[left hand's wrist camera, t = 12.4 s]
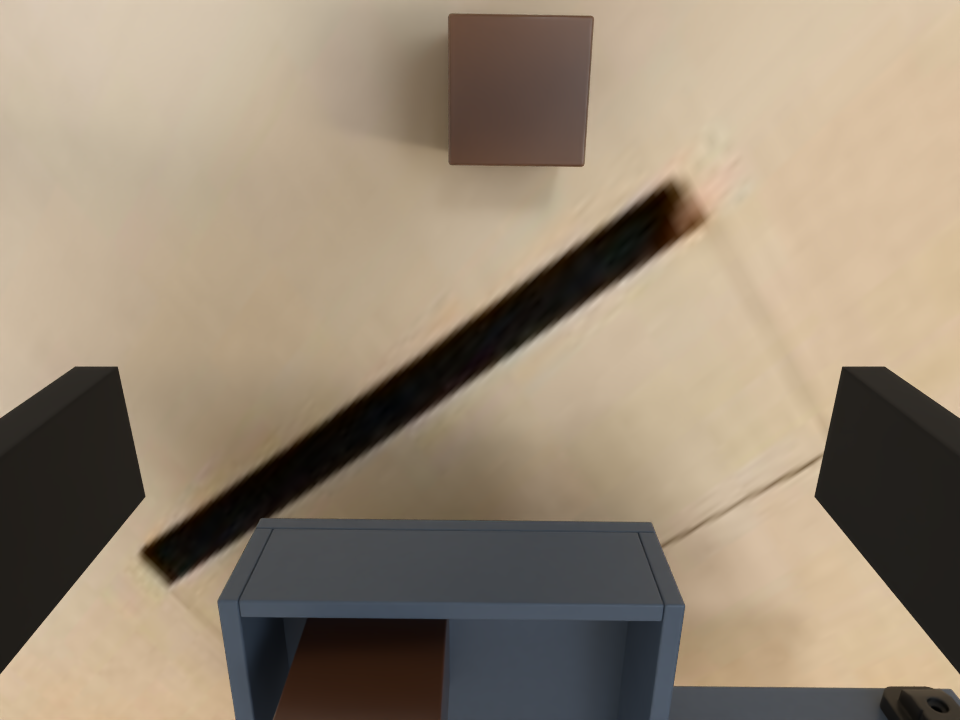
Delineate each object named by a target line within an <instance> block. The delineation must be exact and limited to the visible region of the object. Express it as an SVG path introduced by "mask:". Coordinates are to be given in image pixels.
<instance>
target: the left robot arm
mask: <svg viewBox="0 0 960 720" xmlns="http://www.w3.org/2000/svg"><path fill="white" fill-rule="evenodd" d="M144 498H145V492H144V488H143V483H142V478H141V474H140V469H139V464H138V460H137V455H136V450H135V446H134V441H133V436H132V431H131V427H130V422H129V417H128V413H127V408H126V403H125V399H124V394H123V389H122V385H121V380H120V375H119V371H118V367H74V368H73V369H71V370H70V371H68V372H67V373H65V374H64V375H63V376H61V377H60V378H58V379H57V380H55V381H54V382H52V383H51V384H49V385H48V386H47V387H45V388H44V389H42V390H41V391H39V392H38V393H36V394H35V395H33V396H32V397H31V398H29V399H28V400H26V401H25V402H23V403H22V404H20V405H19V406H18V407H16V408H15V409H13V410H12V411H10V412H9V413H7V414H6V415H4V416H3V417H2V418H0V674H1V673H2V671H3V670H4V669H5V668H6V666H7V665H8V664H9V663H10V662H11V660H12V659H13V658H14V657H15V655H16V654H17V653H18V652H19V651H20V649H21V648H22V647H23V646H24V644H25V643H26V642H27V641H28V640H29V638H30V637H31V636H32V635H33V633H34V632H35V631H36V630H37V629H38V627H39V626H40V625H41V624H42V622H43V621H44V620H45V619H46V618H47V616H48V615H49V614H50V613H51V611H52V610H53V609H54V608H55V607H56V605H57V604H58V603H59V602H60V600H61V599H62V598H63V597H64V596H65V594H66V593H67V592H68V591H69V589H70V588H71V587H72V586H73V585H74V583H75V582H76V581H77V580H78V578H79V577H80V576H81V575H82V574H83V572H84V571H85V570H86V569H87V567H88V566H89V565H90V564H91V563H92V561H93V560H94V559H95V558H96V556H97V555H98V554H99V553H100V552H101V550H102V549H103V548H104V547H105V545H106V544H107V543H108V542H109V541H110V539H111V538H112V537H113V536H114V534H115V533H116V532H117V531H118V530H119V528H120V527H121V526H122V525H123V523H124V522H125V521H126V520H127V519H128V517H129V516H130V515H131V514H132V512H133V511H134V510H135V509H136V508H137V506H138V505H139V504H140V503H141V501H142V500H143V499H144ZM815 498H816V499H817V500H818V501H819V503H820V504H821V505H822V506H823V508H824V509H825V510H826V511H827V512H828V514H829V515H830V516H831V517H832V519H833V520H834V521H835V522H836V523H837V525H838V526H839V527H840V528H841V530H842V531H843V532H844V533H845V534H846V536H847V537H848V538H849V539H850V541H851V542H852V543H853V544H854V545H855V547H856V548H857V549H858V550H859V552H860V553H861V554H862V555H863V556H864V558H865V559H866V560H867V561H868V563H869V564H870V565H871V566H872V567H873V569H874V570H875V571H876V572H877V574H878V575H879V576H880V577H881V578H882V580H883V581H884V582H885V583H886V585H887V586H888V587H889V588H890V589H891V591H892V592H893V593H894V594H895V596H896V597H897V598H898V599H899V600H900V602H901V603H902V604H903V605H904V607H905V608H906V609H907V610H908V611H909V613H910V614H911V615H912V616H913V618H914V619H915V620H916V621H917V622H918V624H919V625H920V626H921V627H922V629H923V630H924V631H925V632H926V633H927V635H928V636H929V637H930V638H931V640H932V641H933V642H934V643H935V644H936V646H937V647H938V648H939V649H940V651H941V652H942V653H943V654H944V655H945V657H946V658H947V659H948V660H949V662H950V663H951V664H952V665H953V666H954V668H955V669H956V670H957V671H958V673H959V674H960V418H958V417H957V416H956V415H954V414H953V413H951V412H950V411H948V410H947V409H945V408H944V407H942V406H941V405H940V404H938V403H937V402H935V401H934V400H932V399H931V398H929V397H928V396H927V395H925V394H924V393H922V392H921V391H919V390H918V389H916V388H915V387H913V386H912V385H911V384H909V383H908V382H906V381H905V380H903V379H902V378H900V377H899V376H897V375H896V374H895V373H893V372H892V371H890V370H889V369H887V368H886V367H842V371H841V375H840V380H839V385H838V389H837V394H836V399H835V403H834V408H833V413H832V417H831V422H830V427H829V431H828V436H827V441H826V446H825V450H824V455H823V460H822V464H821V469H820V474H819V478H818V483H817V488H816V492H815Z"/></svg>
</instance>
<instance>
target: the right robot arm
mask: <svg viewBox="0 0 960 720" xmlns="http://www.w3.org/2000/svg"><path fill="white" fill-rule="evenodd" d="M880 708H881V710H882V712H883V713H884V715H885V716H886V717H887V719H888V720H960V707H959V705H958V704H957V703H956V702H955V700H954V699H953V698H952V697H951V696H950V695H948V694H947V693H945V692H944V691H942V690H941V689H933V688H930V687H887V688H885V689H884V692H883V695H882V699H881V702H880Z"/></svg>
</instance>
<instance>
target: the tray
mask: <svg viewBox="0 0 960 720" xmlns="http://www.w3.org/2000/svg"><path fill="white" fill-rule="evenodd" d="M218 608H219V615H220V621H221V628H222V634H223V640H224V647H225V653H226V660H227V666H228V673H229V679H230V686H231V692H232V698H233V705H234V711H235V718H236V720H273V718H274V715H275V712H276V709H277V706H278V703H279V700H280V697H281V694H282V691H283V688H284V685H285V682H286V679H287V676H288V673H289V670H290V667H291V664H292V661H293V658H294V656H295V653H296V650H297V647H298V644H299V641H300V638H301V635H302V632H303V629H304V626H305V623H306V620H307V618H389V619H449V705H448V720H888V719H887V717H886V716H885V715H884V713H883V712H882V710H881V708H880V702H881V699H882V695H883V692H884V689H885V688H805V687H701V686H673V685H674V678H675V671H676V665H677V658H678V651H679V644H680V637H681V631H682V624H683V617H684V610H685V604H684V602H683V599H682V597H681V594H680V592H679V589H678V587H677V584H676V582H675V580H674V577H673V575H672V572H671V570H670V567H669V565H668V562H667V560H666V557H665V555H664V552H663V550H662V547H661V545H660V543H659V540H658V538H657V535H656V532H655V530H654V527H653V525H652V523H651V522H584V521H488V520H391V519H295V518H261V519H260V521H259V523H258V525H257V526H256V529H255V531H254V532H253V534H252V536H251V538H250V540H249V542H248V544H247V546H246V548H245V550H244V551H243V553H242V555H241V557H240V559H239V561H238V563H237V565H236V567H235V568H234V570H233V572H232V574H231V576H230V578H229V580H228V582H227V584H226V586H225V587H224V589H223V591H222V593H221V595H220V597H219V599H218ZM941 690H942V691H944V692H945V693H947V694H948V695H950V696H951V697H952V698H953V699H954V700H955V702H956V703H957V704H958V705H959V707H960V699H959V698H958V697H957V696H956V694H955V693H954V692H953V691H952V690H951V689H941Z"/></svg>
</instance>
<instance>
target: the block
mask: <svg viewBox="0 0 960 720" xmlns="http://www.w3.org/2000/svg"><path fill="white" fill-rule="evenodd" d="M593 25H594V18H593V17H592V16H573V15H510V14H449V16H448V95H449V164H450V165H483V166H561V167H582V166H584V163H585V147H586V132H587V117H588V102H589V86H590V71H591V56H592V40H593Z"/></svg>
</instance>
